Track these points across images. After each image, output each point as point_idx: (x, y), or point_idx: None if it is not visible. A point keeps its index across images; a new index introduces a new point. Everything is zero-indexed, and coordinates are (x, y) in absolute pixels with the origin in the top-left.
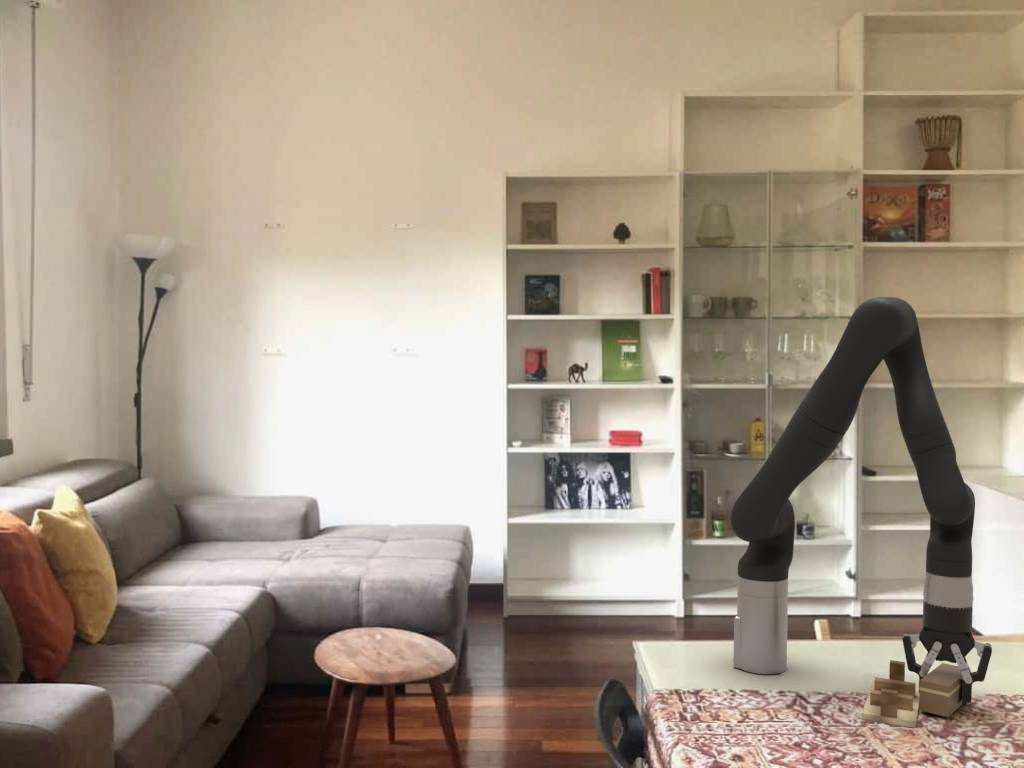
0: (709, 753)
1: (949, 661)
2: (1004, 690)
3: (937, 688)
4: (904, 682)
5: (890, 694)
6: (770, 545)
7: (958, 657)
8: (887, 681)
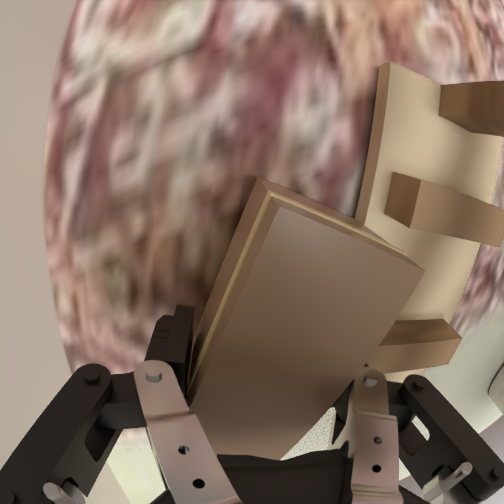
0: None
1: (259, 460)
2: (115, 443)
3: (338, 225)
4: (389, 364)
5: None
6: None
7: (203, 487)
8: (435, 347)
